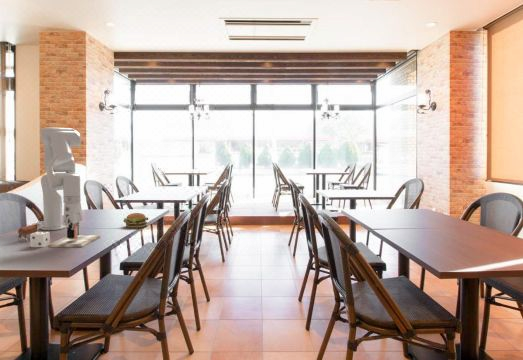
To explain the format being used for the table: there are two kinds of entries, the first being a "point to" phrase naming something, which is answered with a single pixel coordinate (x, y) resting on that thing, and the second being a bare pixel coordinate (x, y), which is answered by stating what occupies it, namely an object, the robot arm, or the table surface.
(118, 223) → the table surface
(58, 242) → the game board
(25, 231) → the bull figurine
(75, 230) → the peach rounded cylinder
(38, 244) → the die
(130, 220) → the food
